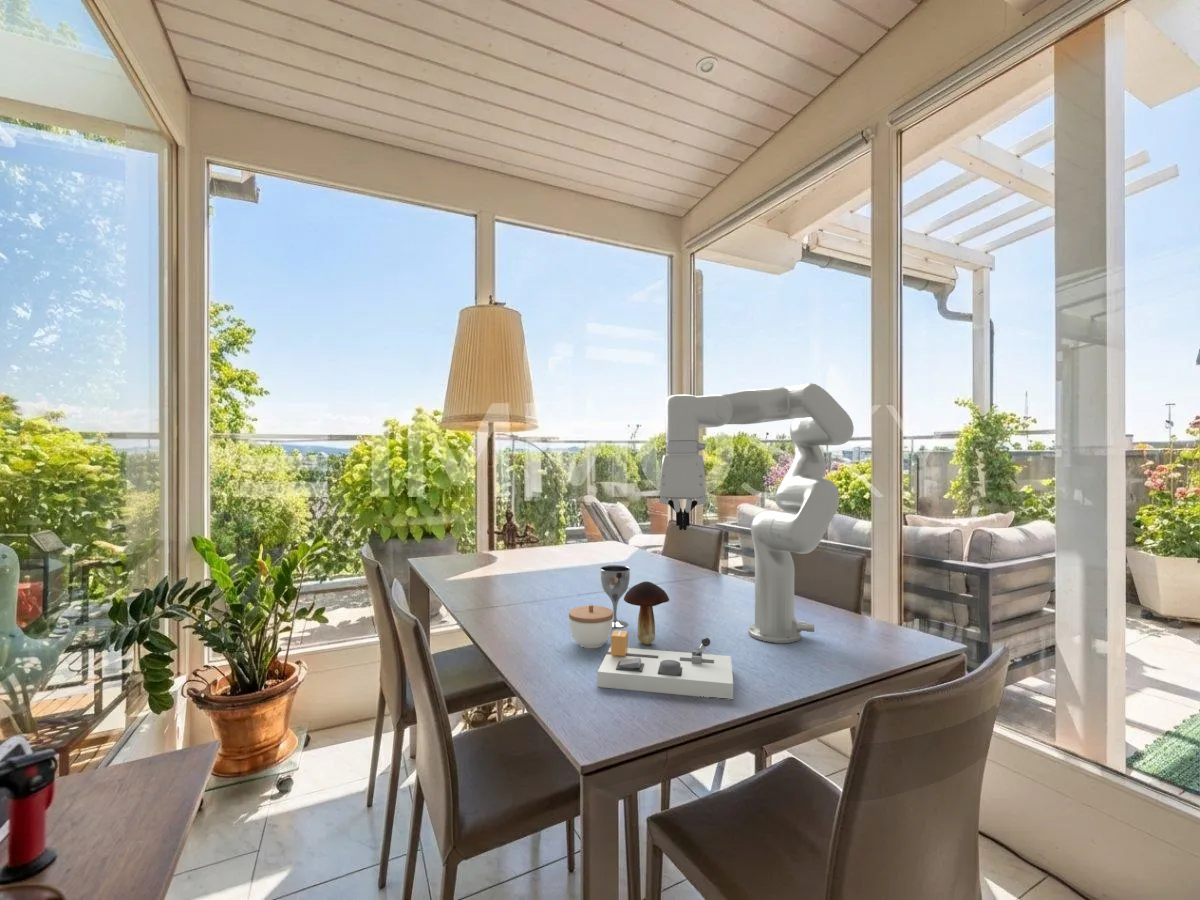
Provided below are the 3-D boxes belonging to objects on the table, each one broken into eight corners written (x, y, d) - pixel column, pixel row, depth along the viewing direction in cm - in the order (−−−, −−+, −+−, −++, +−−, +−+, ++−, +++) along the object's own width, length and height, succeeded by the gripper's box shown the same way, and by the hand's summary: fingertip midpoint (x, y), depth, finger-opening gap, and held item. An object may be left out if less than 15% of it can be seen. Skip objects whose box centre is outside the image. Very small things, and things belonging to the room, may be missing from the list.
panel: (730, 670, 115) (730, 648, 115) (733, 699, 101) (733, 675, 101) (610, 660, 120) (610, 639, 120) (597, 686, 106) (597, 663, 106)
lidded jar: (560, 641, 132) (560, 603, 132) (596, 633, 138) (596, 596, 138) (584, 655, 123) (584, 614, 123) (622, 646, 129) (622, 606, 129)
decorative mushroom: (638, 655, 123) (639, 589, 123) (615, 640, 133) (615, 579, 133) (678, 647, 128) (678, 584, 128) (652, 633, 138) (653, 574, 138)
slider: (627, 649, 117) (627, 631, 117) (625, 655, 114) (625, 636, 114) (614, 648, 118) (614, 630, 118) (611, 654, 114) (611, 635, 114)
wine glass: (630, 629, 141) (630, 571, 141) (599, 628, 141) (600, 571, 141) (629, 619, 149) (629, 565, 149) (600, 619, 149) (600, 565, 149)
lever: (700, 658, 113) (712, 639, 113) (699, 662, 111) (712, 642, 111) (692, 653, 113) (704, 634, 113) (692, 657, 112) (704, 637, 111)
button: (680, 679, 109) (681, 660, 109) (679, 688, 105) (679, 668, 105) (661, 677, 109) (661, 659, 109) (659, 686, 105) (659, 666, 105)
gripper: (715, 448, 126) (716, 527, 126) (651, 449, 129) (652, 526, 129) (715, 448, 118) (716, 532, 119) (647, 449, 121) (648, 531, 122)
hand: (683, 529), depth 124 cm, fingers closed
